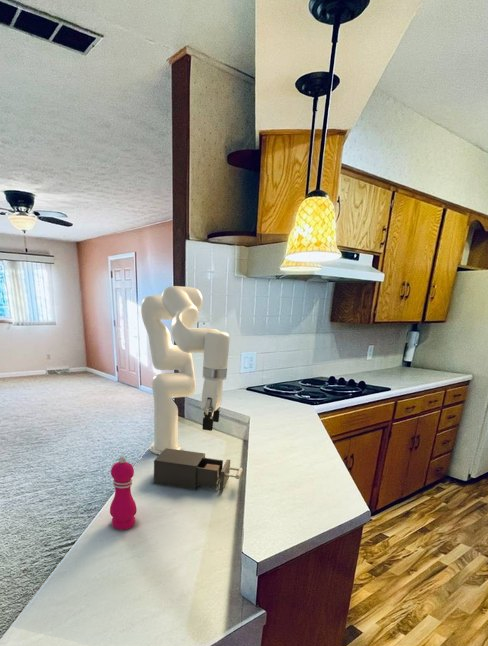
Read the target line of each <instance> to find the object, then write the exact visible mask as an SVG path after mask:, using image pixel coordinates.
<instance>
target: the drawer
mask: <svg viewBox="0 0 488 646" xmlns="http://www.w3.org/2000/svg"><path fill="white" fill-rule="evenodd" d="M207 464H213V465H220V469H219V478H218V480H217V471H218V470H214V469H207V468H205V466H206V465H207ZM243 470H244V469H243V467H239V468H237V467H231V459H226V461H225V462H224V460H223V459H217V458H209V457H205V458H203V459H202V461H201V462H200V464H199V465H198V467H197V474H196V485H198V487H199V486H200V487H205V488H206V487H207V488H214V489H217V487H219V489H218V490H219V491H220V492H222V491H224V489H225V487H226V486H227V484H228V481H229V478H235V479H236V480H239V479H240V478H241V476H242V474H243ZM230 471H236V474H230ZM218 485H219V486H218Z"/></svg>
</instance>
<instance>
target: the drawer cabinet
mask: <svg viewBox="0 0 488 646" xmlns="http://www.w3.org/2000/svg"><path fill="white" fill-rule="evenodd" d="M203 458H206V453H204V452H197V451H189V450H182V449H181V450H176V449H169V448H166V449H165V450H164V451H163V452H162V453H161V454H160V455H157V456H156V457H155V458H154V459H153V484H154V485H160V486H166V487H173V488H180V489H186V490H193V491H196V489H197V488H198V487H199V485H196V474H197V467H198V465H199V464H200V462H201V461H202V459H203Z"/></svg>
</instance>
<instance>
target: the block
mask: <svg viewBox="0 0 488 646" xmlns="http://www.w3.org/2000/svg"><path fill="white" fill-rule="evenodd" d="M205 468H207V469H214V470H218V471H217V480H218V478H219V469H220V465H213V464H207V465H206V466H205Z"/></svg>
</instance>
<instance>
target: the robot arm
mask: <svg viewBox="0 0 488 646" xmlns="http://www.w3.org/2000/svg"><path fill="white" fill-rule="evenodd" d="M202 306H203V295H202V293H201V291H200V290H199V289H197V288H196V287H192V286H179V285H171V286H168V287H166V288H165V289H163V291H162V293H161V294H151V295H147V296H145V297H144V298H143V300H142V302H141V306H140V307H141V308H140V313H141V319H142V322H143V325H144V328H145V330H146V333H147V337H148V341H149V350H150V356H151V363H152V365H153V368H154V369H155V370H159V371H178V372H164V373H158V374H156V375H155V376H153V378H152V380H151V390H152V394H153V444H151V445H150V446H149V450H150V452H151V453H153V454H155V455H157V456H159V455H160V454H161V453H162V452H163V451H164V450H165V449H166V448H169V449H176V450H182V448H181V446H180V445H178V431H179V428H178V427H179V408H178V405H177V404H176V403H175V401H174V400H173V399H177V398H186V397H192V396H193V395H195V392H196V389H197V383H196V373H195V366H194V360H193V355H192V354H203V358H202V359H203V361H202V379H204V380H203V385H202V391H201V400H200V401H201V402H200V409H201V410H202V411H203V415H202V416H203V417H202V430H203V431H210V432H212V431H213V429H214V423H219V422H220V411H221V410H220V409H221V407H220V406H221V405H222V399H223V389H224V388H223V387H224V381H225V380H227V375H228V363H229V353H230V339H231V338H230V335H229V333H227V332H225V331H220V330H218V329H216V328H210V327H209V328H208V327H207V328H206V327H205V328H204V327H193V326H194V325H195V324H196V323H197V321H198V319H199V312H200V311H201V309H202V308H203V307H202ZM162 320H168V321H169V320H170V321H171V320H172V322H171V326H170V330H171V332H170V330H169V328H168V327H167V326H166V324H165V323H164V322H163V321H162ZM172 340H173V342H174V343H175V344H173V342H172Z"/></svg>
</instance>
